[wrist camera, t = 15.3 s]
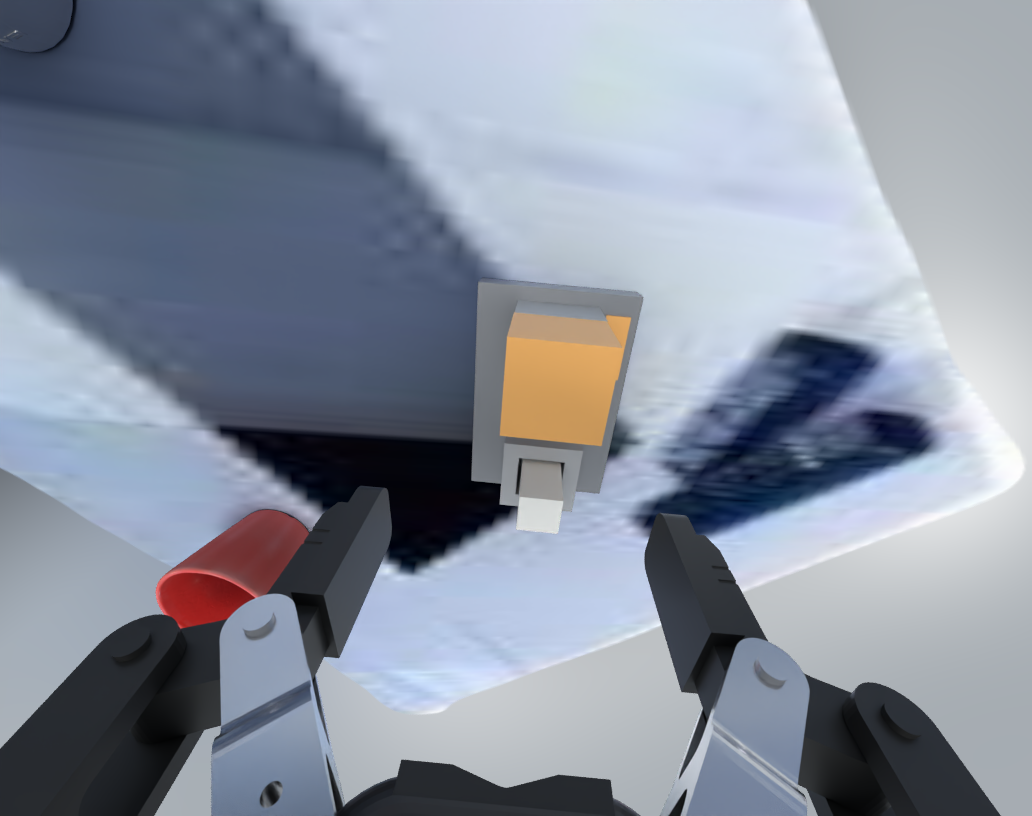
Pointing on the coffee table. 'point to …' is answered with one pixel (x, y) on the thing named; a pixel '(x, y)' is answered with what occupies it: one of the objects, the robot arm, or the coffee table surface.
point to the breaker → (540, 496)
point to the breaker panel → (494, 315)
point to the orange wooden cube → (558, 378)
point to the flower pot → (230, 569)
